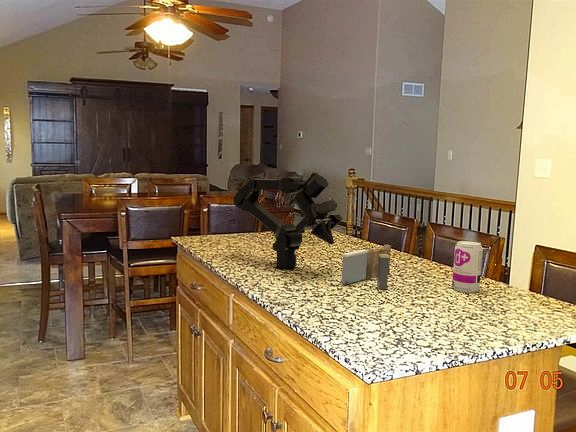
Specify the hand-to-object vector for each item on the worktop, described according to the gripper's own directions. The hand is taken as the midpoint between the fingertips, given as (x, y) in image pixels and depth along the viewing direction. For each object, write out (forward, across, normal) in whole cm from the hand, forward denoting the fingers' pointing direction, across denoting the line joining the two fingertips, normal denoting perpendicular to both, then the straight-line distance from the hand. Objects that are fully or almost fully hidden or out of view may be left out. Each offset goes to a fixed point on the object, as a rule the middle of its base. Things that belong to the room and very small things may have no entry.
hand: (332, 243), depth 176 cm
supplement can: (+34, +22, -18) cm, 44 cm away
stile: (+21, +2, -5) cm, 22 cm away
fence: (+14, +15, +2) cm, 20 cm away
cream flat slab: (+14, +1, +2) cm, 14 cm away
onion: (+10, +23, +6) cm, 26 cm away
